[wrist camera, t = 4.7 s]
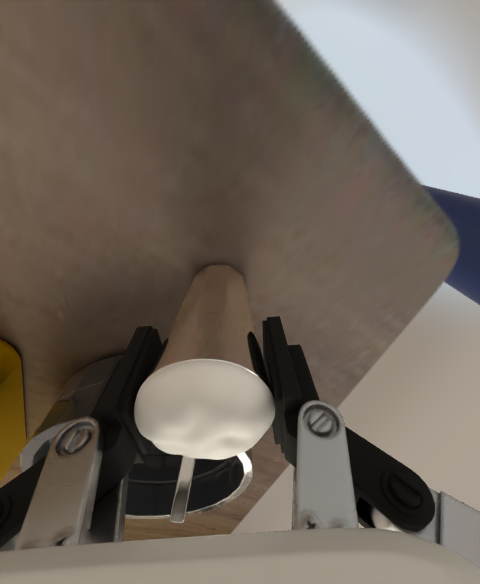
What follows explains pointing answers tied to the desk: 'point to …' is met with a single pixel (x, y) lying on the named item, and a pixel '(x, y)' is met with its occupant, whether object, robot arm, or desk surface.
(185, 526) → the desk surface
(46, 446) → the pan
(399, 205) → the desk surface
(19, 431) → the element tile
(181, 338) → the milkshake
